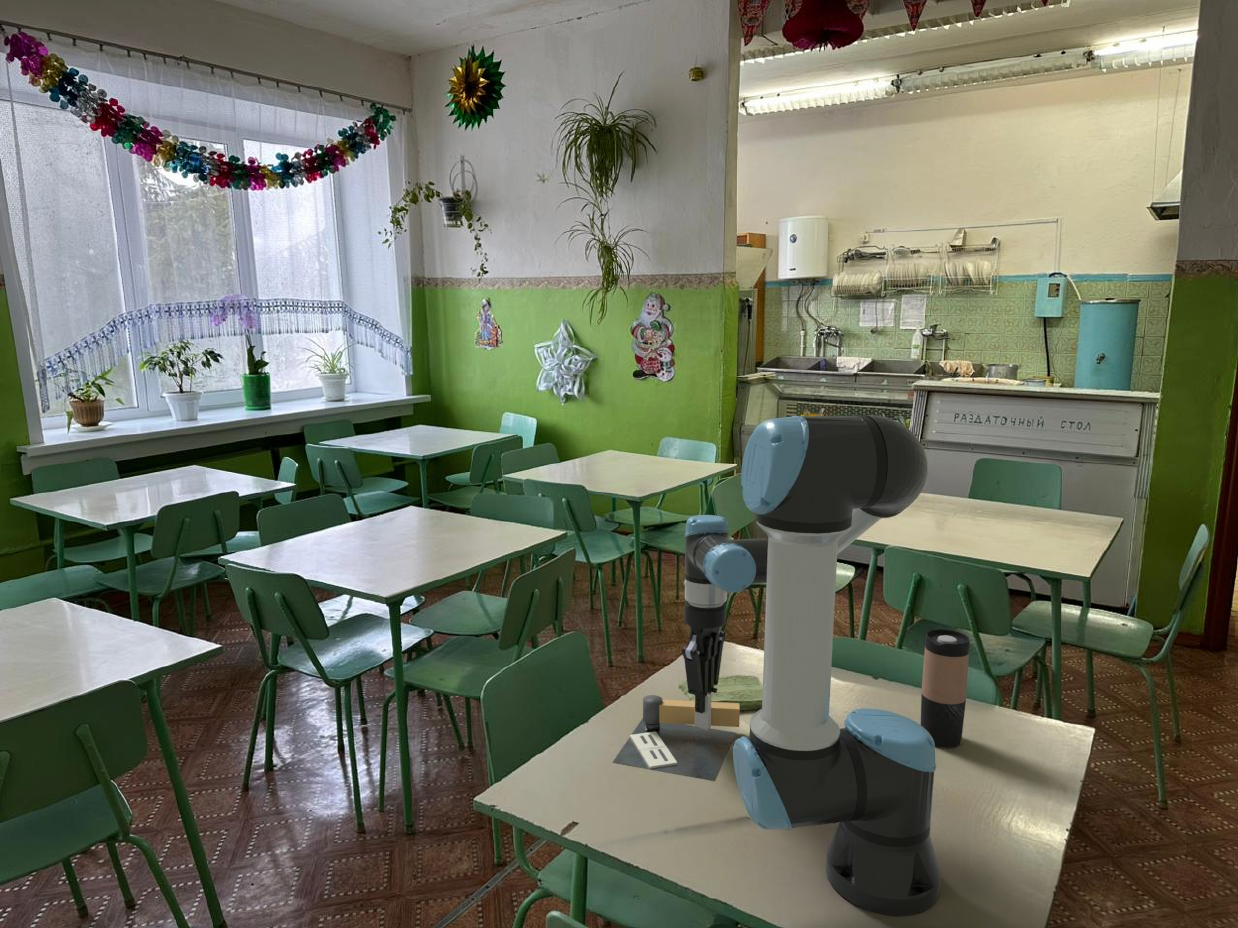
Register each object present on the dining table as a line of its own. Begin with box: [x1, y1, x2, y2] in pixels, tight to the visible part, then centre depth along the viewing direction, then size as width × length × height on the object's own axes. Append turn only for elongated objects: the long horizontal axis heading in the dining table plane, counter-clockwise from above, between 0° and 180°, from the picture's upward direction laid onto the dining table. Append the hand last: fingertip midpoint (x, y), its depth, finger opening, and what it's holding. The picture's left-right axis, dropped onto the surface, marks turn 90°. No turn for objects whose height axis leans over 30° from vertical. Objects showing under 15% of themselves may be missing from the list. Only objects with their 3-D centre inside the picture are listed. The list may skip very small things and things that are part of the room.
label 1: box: [629, 731, 665, 753], centre depth 151 cm, size 6×5×1 cm
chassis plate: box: [612, 717, 736, 782], centre depth 150 cm, size 18×18×3 cm
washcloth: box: [678, 674, 763, 712], centre depth 171 cm, size 13×18×3 cm
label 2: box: [640, 746, 677, 770], centre depth 146 cm, size 6×5×1 cm
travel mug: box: [920, 628, 971, 749], centre depth 153 cm, size 8×8×20 cm
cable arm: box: [642, 694, 741, 728], centre depth 155 cm, size 18×4×4 cm, turn 84°
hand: (702, 726), depth 153 cm, fingers closed
